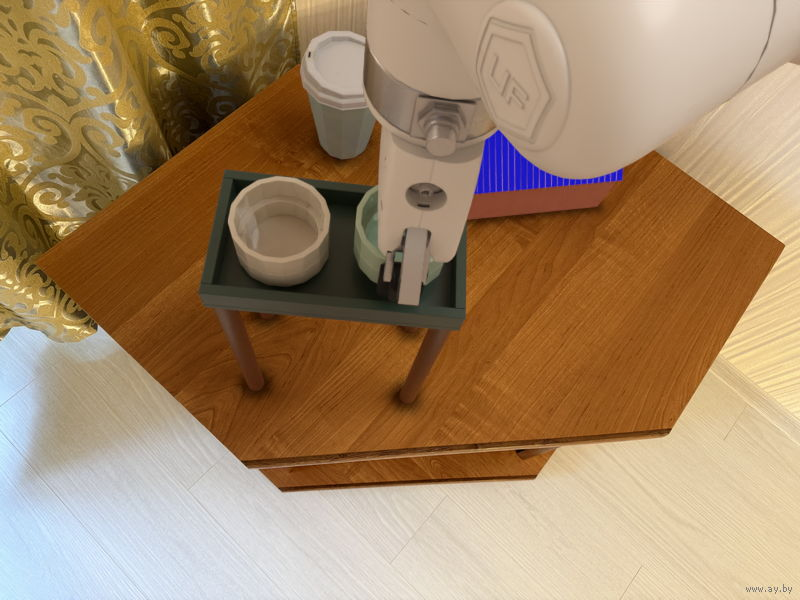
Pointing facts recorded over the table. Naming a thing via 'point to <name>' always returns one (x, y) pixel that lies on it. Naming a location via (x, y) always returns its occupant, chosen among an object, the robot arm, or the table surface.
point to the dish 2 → (376, 240)
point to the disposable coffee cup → (338, 92)
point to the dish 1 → (280, 230)
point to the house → (529, 185)
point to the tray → (326, 285)
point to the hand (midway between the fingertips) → (401, 246)
